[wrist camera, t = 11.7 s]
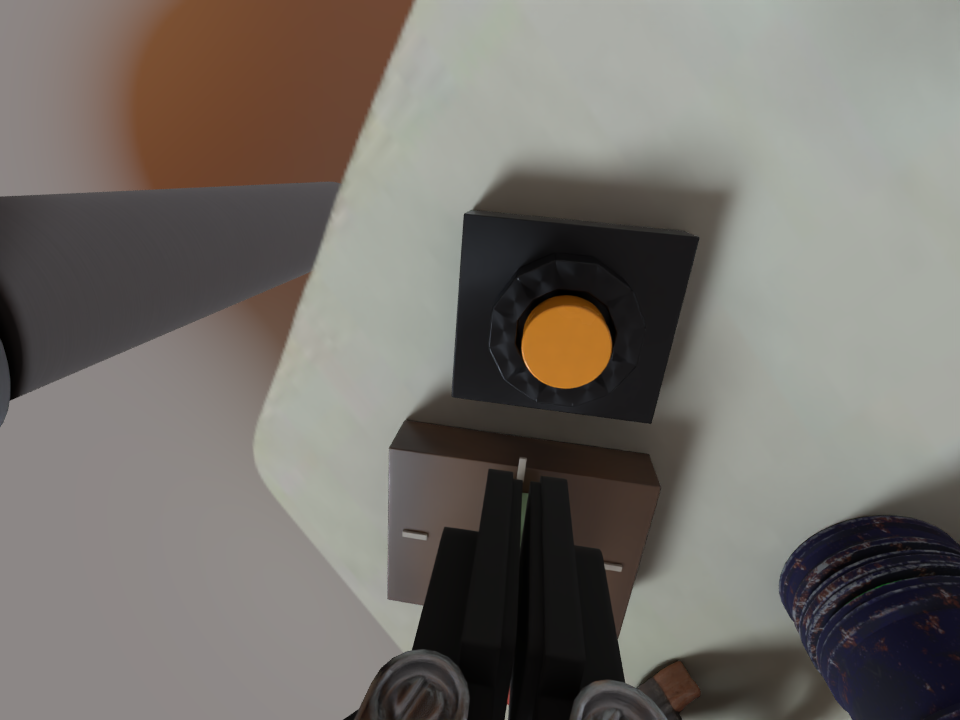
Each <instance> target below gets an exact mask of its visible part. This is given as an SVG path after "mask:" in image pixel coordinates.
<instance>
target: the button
mask: <svg viewBox="0 0 960 720" xmlns="http://www.w3.org/2000/svg"><path fill="white" fill-rule="evenodd" d="M521 349H522V356H523V360H524V362H525V365H526V366H527V368H528V370H529V371H530V372H531V374H532V375H533V376H534V377H536V378H537V379H538V380H539V381H541V382H543V383H545V384H547V385H549V386H552V387H556V388H564V389H567V388H576V387H580V386H583V385H585V384H588V383H589V382H591V381H593V380H594V379H595V378H597V377H598V376H599V375H600V374H601V373H602V372H603V370H604V369H605V368H606V366H607V364H608V362H609V360H610V357H611V353H612V339H611V335H610V331H609V329H608V327H607V324H606V322H605V319H604V317H603V315H602V314H601V312H600V311H599V310H598V308H597V307H596V306H595V305H593V304H592V303H591V302H589V301H588V300H586V299H584V298H581V297H578V296H573V295H559V296H554V297H551V298H548V299H546V300H544V301H543V302H541V303H540V304H538V305H537V306H536V307H535V308H534V309H533V310H532V311H531V313H530V314H529V316H528V318H527V320H526V322H525V325H524V329H523V337H522V347H521Z"/></svg>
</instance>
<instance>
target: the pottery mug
mask: <svg viewBox="0 0 960 720" xmlns="http://www.w3.org/2000/svg"><path fill="white" fill-rule="evenodd" d="M637 689H639V690H640V691H641V692H643V693H644V694H645V695H646V696H648V697H649V698H650V699H651V700H653V701H654V703H655V704H656V705H657V706H658V707H659V709H660V710H661V711H662V712H663V713H664V715H665V716H666V718H667V720H682V719H681V717H680V714H679V713H680V712H681V711H682V710H683V709H684V707H685V706H686V705H688V704H689V703H690V702H692V701H693V700H694V699H696V698H698V697H700V695H701V691H700V689H699V687H698V685H697V684H696V682H695V681H694V680H693V679H692V678H691V677H690V675H689V673H688V671H687V670H686V668H685V667H684V665H683V664H682V662H681V661H677V662H675V663H673V664H670V665H668V666H667V667H666V668H664V669H662V670H660V671H659V672H658V673H657V674H655V675H654V676H653V677H651V678H650V679H649V680H648V681H646V682H645V683H643V684H641V685H640V687H639V688H637Z"/></svg>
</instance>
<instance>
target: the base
mask: <svg viewBox="0 0 960 720" xmlns="http://www.w3.org/2000/svg"><path fill="white" fill-rule="evenodd" d="M489 469H497V470H504V471H511V472H513V479H519V480H523V487H522V493H528V492H529V486H530V481H534V482H540V477H541V476H549V477H556V478H564V479H567V482H568V491H569V501H570V511H571V520H572V530H573V540H574V545H576V546H583V547H590V548H597V549H600V550H601V552H602V555H603V560H604V566H605V571H606V577H607V583H608V588H609V594H610V600H611V605H612V611H613V617H614V622H615V628H616V634H617V639H618V637H619V634H620V630H621V627H622V623H623V620H624V616H625V613H626V609H627V606H628V602H629V599H630V595H631V592H632V588H633V585H634V581H635V578H636V574H637V571H638V567H639V564H640V560H641V557H642V553H643V550H644V546H645V543H646V539H647V536H648V532H649V529H650V525H651V522H652V518H653V515H654V511H655V508H656V504H657V501H658V497H659V494H660V490H661V485H660V483H659V480H658V477H657V475H656V472H655V469H654V467H653V464H652V461H651V459H650V456H649V455H648V454H643V453H635V452H628V451H621V450H614V449H607V448H600V447H592V446H585V445H578V444H571V443H564V442H557V441H550V440H542V439H535V438H528V437H521V436H514V435H507V434H500V433H492V432H485V431H478V430H471V429H464V428H457V427H450V426H442V425H435V424H428V423H421V422H414V421H407V420H405V421H404V422H403V424H402V426H401V428H400V429H399V431H398V433H397V435H396V437H395V438H394V440H393V442H392V444H391V445H390V447H389V498H388V587H387V599H389V600H395V601H401V602H406V603H412V604H418V605H424V602H425V598H426V594H427V590H428V586H429V582H430V579H431V575H432V571H433V567H434V563H435V559H436V555H437V551H438V548H439V544H440V540H441V536H442V532H443V529H444V527H451V528H458V529H465V530H472V531H479V527H480V520H481V514H482V508H483V501H484V495H485V489H486V482H487V476H488V470H489Z"/></svg>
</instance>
